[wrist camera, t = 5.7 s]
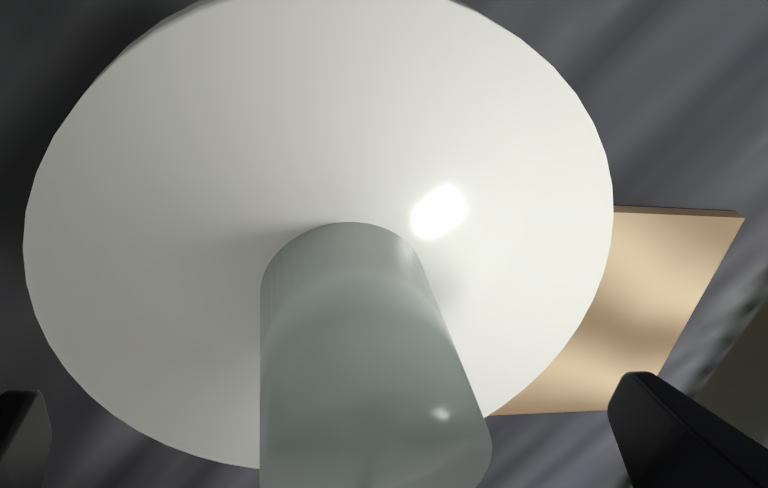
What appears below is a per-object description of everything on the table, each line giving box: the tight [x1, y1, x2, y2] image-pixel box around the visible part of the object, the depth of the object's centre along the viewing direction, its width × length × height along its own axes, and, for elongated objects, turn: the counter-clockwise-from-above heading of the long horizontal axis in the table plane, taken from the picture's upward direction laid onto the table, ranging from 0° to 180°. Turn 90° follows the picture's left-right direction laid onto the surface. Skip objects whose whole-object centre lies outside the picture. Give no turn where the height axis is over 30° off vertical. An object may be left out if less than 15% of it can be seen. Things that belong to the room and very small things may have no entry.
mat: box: [490, 205, 745, 415], centre depth 26 cm, size 12×12×1 cm
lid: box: [23, 0, 614, 488], centre depth 10 cm, size 11×11×5 cm
